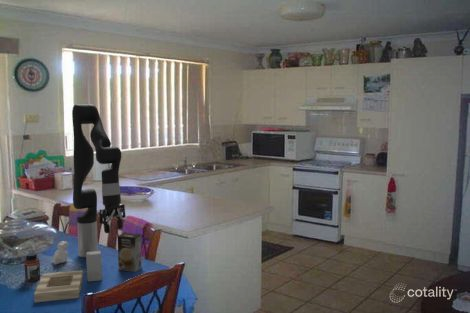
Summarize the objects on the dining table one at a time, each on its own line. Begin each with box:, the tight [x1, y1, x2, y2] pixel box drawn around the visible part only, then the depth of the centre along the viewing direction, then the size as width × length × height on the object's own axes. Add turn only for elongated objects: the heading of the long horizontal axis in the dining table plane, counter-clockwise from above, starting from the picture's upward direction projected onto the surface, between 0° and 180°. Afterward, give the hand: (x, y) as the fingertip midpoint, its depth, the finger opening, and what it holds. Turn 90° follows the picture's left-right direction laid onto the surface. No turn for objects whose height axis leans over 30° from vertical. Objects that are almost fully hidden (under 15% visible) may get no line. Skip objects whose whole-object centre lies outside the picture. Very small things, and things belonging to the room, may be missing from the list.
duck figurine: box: [52, 240, 69, 266], centre depth 208 cm, size 12×8×11 cm
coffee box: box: [117, 232, 143, 273], centre depth 199 cm, size 9×6×16 cm
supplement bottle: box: [23, 252, 41, 282], centre depth 187 cm, size 6×6×11 cm
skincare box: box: [85, 250, 103, 282], centre depth 187 cm, size 6×4×12 cm
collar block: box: [33, 269, 84, 303], centre depth 178 cm, size 20×16×4 cm
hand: (113, 230), depth 188 cm, fingers open, 8 cm apart
